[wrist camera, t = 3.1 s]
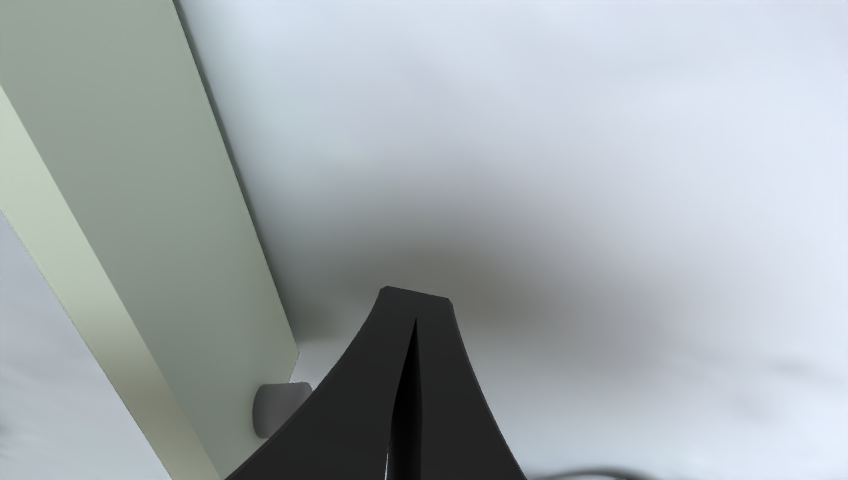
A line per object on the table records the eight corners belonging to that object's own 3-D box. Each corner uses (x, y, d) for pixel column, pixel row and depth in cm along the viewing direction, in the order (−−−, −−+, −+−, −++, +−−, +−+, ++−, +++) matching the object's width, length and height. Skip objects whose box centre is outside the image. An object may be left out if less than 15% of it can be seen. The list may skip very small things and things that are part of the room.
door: (334, 351, 15) (286, 512, 11) (265, 355, 15) (194, 514, 11) (196, -90, 9) (2, -82, 5) (92, -71, 10) (-166, -51, 6)
